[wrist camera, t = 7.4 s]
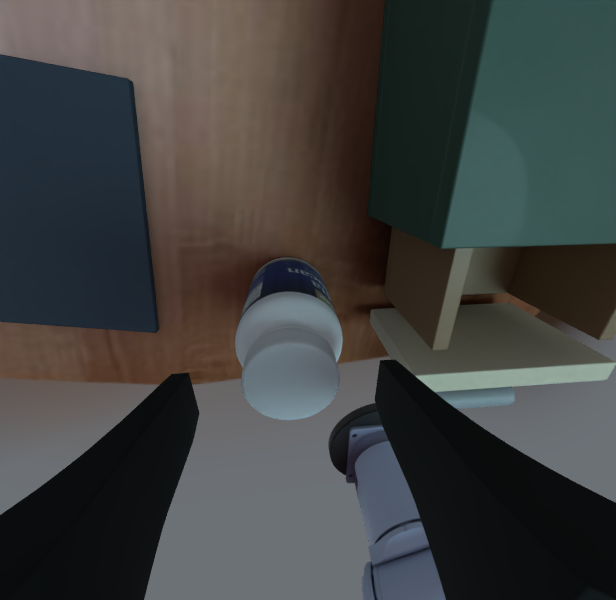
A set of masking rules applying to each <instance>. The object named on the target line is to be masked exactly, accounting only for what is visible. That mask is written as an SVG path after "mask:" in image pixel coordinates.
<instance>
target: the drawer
mask: <svg viewBox="0 0 616 600" xmlns="http://www.w3.org/2000/svg"><path fill="white" fill-rule="evenodd" d="M495 293H509V294H511V295H513V296H515V297H517V298H519V299H521V300H522V301H524V302H526V303H528V304H530V305H532V306H534V307H536V308H538V309H540V310H542V311H544V312H546V313H548V314H550V315H551V316H553V317H555V318H557V319H559V320H561V321H563V322H565V323H567V324H569V325H571V326H573V327H575V328H577V329H578V330H580V331H582V332H584V333H586V334H588V335H590V336H592V337H594V338H596V339H598V340H609V339H613V337H614V336H615V334H616V244H588V245H556V246H524V247H491V248H459V249H440V248H438V247H436V246H434V245H431V244H429V243H427V242H425V241H423V240H421V239H418V238H416V237H414V236H412V235H410V234H407V233H405V232H403V231H401V230H399V229H397V228H394V227H392V231H391V239H390V247H389V256H388V264H387V272H386V280H385V288H384V295H385V296H386V297H387V298H388V299H389V300H390V302H391V303H392V304H393V305H394V306H395V308H386V309H371V316H370V324H371V326H372V327H373V329H374V331H375V332H376V334H377V336H378V337H379V339H380V341H381V343H382V344H383V346H384V348H385V349H386V351H387V353H388V354H389V356H390V358H391V359H392V360H397V361H398V362H399V363H400V364H402V365H403V366H404V367H405V368H406V369H408V370H409V371H410V372H411V373H412V374H413V375H415V376H416V377H417V378H418V379H419V380H421V381H422V382H423V383H424V384H425V385H427V386H428V387H429V388H430V389H431V390H433V391H434V392H435V393H436V394H438V395H439V396H440V397H441V398H443V399H444V400H445V401H447V402H448V403H449V404H450V405H452V406H453V407H454V408H456V409H461V408H473V407H488V406H501V405H511V404H513V403H514V401H515V392H514V390H513V388H512V386H527V385H541V384H555V383H568V382H583V381H595V380H596V381H597V380H606V379H607V378H608V376H609V375H610V373H611V371H612V370H613V368H614V366H615V365H616V362H615V361H613V360H611V359H609V358H608V357H606V356H604V355H602V354H600V353H599V352H597V351H595V350H593V349H591V348H590V347H588V346H586V345H584V344H582V343H581V342H579V341H577V340H575V339H573V338H572V337H570V336H568V335H566V334H565V333H562V332H561V331H559V330H557V329H556V328H554V327H552V326H550V325H548V324H547V323H545V322H543V321H541V320H539V319H538V318H536V317H534V316H532V315H530V314H529V313H527V312H525V311H523V310H522V309H520V308H518V307H516V306H514V305H513V304H511V303H493V304H472V305H459V303H460V299H461V296H462V295H472V294H495Z"/></svg>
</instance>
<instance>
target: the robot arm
mask: <svg viewBox="0 0 616 600" xmlns="http://www.w3.org/2000/svg"><path fill="white" fill-rule="evenodd" d="M375 402H376V406H377V409H378V413H379V416H380V419H381V422H382V424H380V425H368V426H355V427H352V428H350V431H349V443H348V455H347V467H346V482H347V483H355V486H356V491H357V495H358V500H359V504H360V508H361V513H362V517H363V521H364V526H365V530H366V534H367V538H368V541H369V543H370V545H371V546H369V552H370V557H371V562H367V563H366V565H365V569H364V574H363V577H362V592H363V600H616V503H615V502H613V501H611V500H609V499H607V498H605V497H603V496H601V495H599V494H597V493H595V492H593V491H591V490H589V489H587V488H585V487H583V486H581V485H579V484H577V483H575V482H573V481H571V480H570V479H568V478H566V477H564V476H562V475H560V474H559V473H557V472H555V471H553V470H551V469H549V468H548V467H546V466H544V465H542V464H541V463H539V462H537V461H536V460H534V459H532V458H530V457H529V456H527V455H525V454H523V453H522V452H520V451H518V450H517V449H515V448H513V447H512V446H510V445H508V444H507V443H505V442H504V441H502V440H500V439H499V438H497V437H496V436H495V435H493V434H491V433H490V432H488V431H487V430H485V429H484V428H482V427H481V426H479V425H478V424H476V423H475V422H474V421H472V420H471V419H469V418H468V417H467V416H465V415H464V414H463V413H461V412H460V411H458V410H457V409H456V408H454V407H453V406H452V405H450V404H449V403H448V402H447V401H445V400H444V399H443V398H441V397H440V396H439V395H438V394H436V393H435V392H434V391H433V390H431V389H430V388H429V387H428V386H427V385H425V384H424V383H423V382H422V381H421V380H419V379H418V378H417V377H416V376H415V375H413V374H412V373H411V372H410V371H409V370H408V369H406V368H405V367H404V366H403V365H402V364H400V363H399V362H398V361H397V360H381V361H380V365H379V373H378V380H377V387H376V394H375ZM198 417H199V410H198V406H197V402H196V399H195V395H194V391H193V388H192V383H191V379H190V376H189V373H181V374H171V375H170V376H169V377H168V378H167V379H166V380H165V381H164V382H162V383H161V384H160V385H159V386H158V387H157V388H156V389H155V390H154V391H153V392H152V393H151V394H150V395H149V396H148V397H147V398H146V399H145V400H144V401H142V402H141V403H140V404H139V405H138V406H137V407H136V408H135V409H134V410H133V411H132V412H131V413H130V414H129V415H127V416H126V417H125V418H124V419H123V420H122V421H121V422H120V423H119V424H117V425H116V426H115V427H114V428H113V429H112V430H110V431H109V432H108V433H107V434H106V435H105V436H104V437H102V438H101V439H100V440H99V441H98V442H97V443H95V444H94V445H93V446H92V447H91V448H90V449H89V450H87V451H86V452H85V453H84V454H83V455H81V456H80V457H79V458H77V459H76V460H75V461H74V462H72V463H71V464H70V465H69V466H67V467H66V468H65V469H63V470H62V471H61V472H59V473H58V474H57V475H56V476H54V477H53V478H52V479H50V480H49V481H48V482H46V483H45V484H44V485H42V486H41V487H40V488H38V489H37V490H36V491H34V492H33V493H31V494H30V495H28V496H27V497H26V498H24V499H23V500H21V501H20V502H18V503H17V504H16V505H14V506H13V507H12V508H10V509H8V510H7V511H6V512H4V513H3V514H1V515H0V600H144V598H145V594H146V590H147V585H148V581H149V577H150V573H151V569H152V566H153V562H154V558H155V554H156V550H157V547H158V543H159V539H160V536H161V532H162V528H163V525H164V522H165V519H166V516H167V513H168V510H169V507H170V504H171V501H172V498H173V496H174V493H175V490H176V488H177V485H178V482H179V479H180V476H181V474H182V471H183V468H184V465H185V462H186V460H187V457H188V454H189V451H190V448H191V445H192V442H193V439H194V434H195V430H196V426H197V421H198Z"/></svg>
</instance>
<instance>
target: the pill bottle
mask: <svg viewBox="0 0 616 600" xmlns="http://www.w3.org/2000/svg"><path fill="white" fill-rule="evenodd" d="M342 342H343V339H342V331H341V327H340V324H339V321H338V318H337V315H336V313H335V310H334V307H333V304H332V302H331V300H330V297H329V294H328V292H327V289H326V287H325V284H324V281H323V279H322V277H321V275H320V274H319V272H318V271H317V270H316V269H315V268H314V267H313V266H312V265H310V264H309V263H307V262H305V261H303V260H300V259H297V258H291V257H284V258H278V259H275V260H272V261H270V262H268V263H267V264H265V265H264V266H263V267H261V268H260V269H259V271H258V272H257V273H256V275H255V276H254V278H253V281H252V283H251V286H250V289H249V292H248V296H247V299H246V302H245V305H244V308H243V311H242V315H241V318H240V321H239V323H238V328H237V331H236V337H235V350H236V354H237V357H238V360H239V362H240V364H241V365H242V367H243V372H242V377H241V386H242V390H243V394H244V396H245V398H246V400H247V401H248V403H249V404H250V405H251V406H252V407H253V408H254V409H255V410H257V411H258V412H260V413H261V414H263V415H265V416H268V417H271V418H275V419H280V420H297V419H302V418H306V417H309V416H312V415H314V414H316V413H318V412H319V411H321V410H322V409H324V408H325V407H326V406H327V405H328V404H329V403H330V402H331V401H332V400H333V398H334V397H335V395H336V393H337V390H338V387H339V382H340V377H339V370H338V366H337V361H338V359H339V357H340V354H341V350H342Z"/></svg>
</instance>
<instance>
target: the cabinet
mask: <svg viewBox="0 0 616 600" xmlns="http://www.w3.org/2000/svg"><path fill="white" fill-rule="evenodd" d="M367 215H368V216H370V217H372V218H375V219H377V220H379V221H381V222H383V223H386V224H388V225H390V226H392V227H394V228H397V229H399V230H401V231H403V232H405V233H407V234H410V235H412V236H414V237H416V238H418V239H421V240H423V241H425V242H427V243H429V244H431V245H434V246H436V247H438V248H440V249H459V248H491V247H524V246H556V245H588V244H616V0H385V7H384V19H383V31H382V43H381V55H380V67H379V79H378V91H377V104H376V116H375V128H374V140H373V152H372V164H371V176H370V188H369V200H368V213H367Z"/></svg>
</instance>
